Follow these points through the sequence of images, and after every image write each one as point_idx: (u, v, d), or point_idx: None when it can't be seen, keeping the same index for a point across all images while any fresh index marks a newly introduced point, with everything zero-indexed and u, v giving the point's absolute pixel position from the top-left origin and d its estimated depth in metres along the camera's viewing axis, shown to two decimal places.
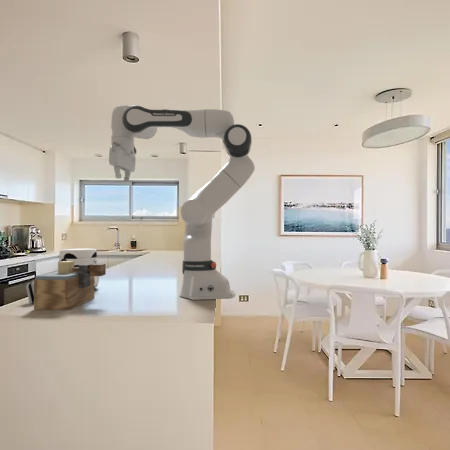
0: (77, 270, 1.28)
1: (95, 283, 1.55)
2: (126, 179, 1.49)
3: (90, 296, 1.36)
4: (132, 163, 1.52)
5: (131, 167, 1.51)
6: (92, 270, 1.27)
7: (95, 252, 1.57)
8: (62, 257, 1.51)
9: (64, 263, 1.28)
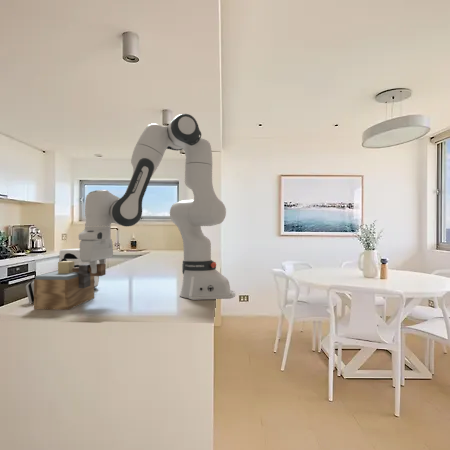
0: (77, 270, 1.28)
1: (95, 283, 1.55)
2: None
3: (90, 296, 1.36)
4: None
5: None
6: None
7: None
8: (62, 257, 1.51)
9: (64, 263, 1.28)
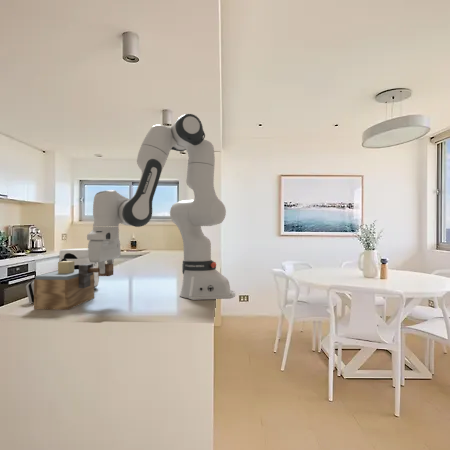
0: None
1: (95, 283, 1.55)
2: None
3: (90, 296, 1.36)
4: None
5: None
6: None
7: None
8: (62, 257, 1.51)
9: (64, 263, 1.28)
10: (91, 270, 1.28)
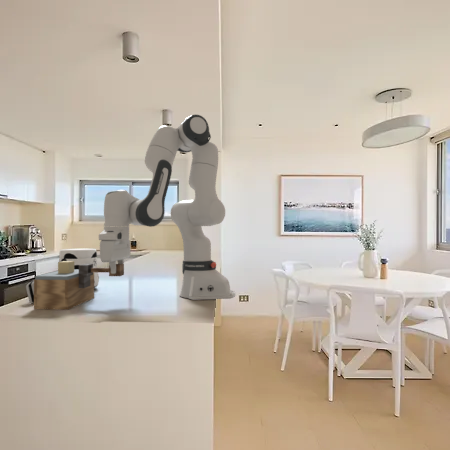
0: (96, 270, 1.28)
1: (95, 283, 1.55)
2: None
3: (90, 296, 1.36)
4: None
5: None
6: None
7: (95, 252, 1.57)
8: (62, 257, 1.51)
9: (64, 263, 1.28)
10: (102, 270, 1.27)
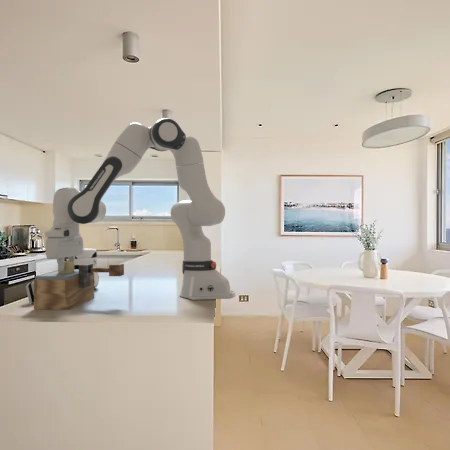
0: (96, 270, 1.28)
1: (95, 283, 1.55)
2: None
3: (90, 296, 1.36)
4: None
5: None
6: (111, 270, 1.26)
7: (95, 252, 1.57)
8: None
9: (64, 263, 1.28)
10: (102, 270, 1.27)
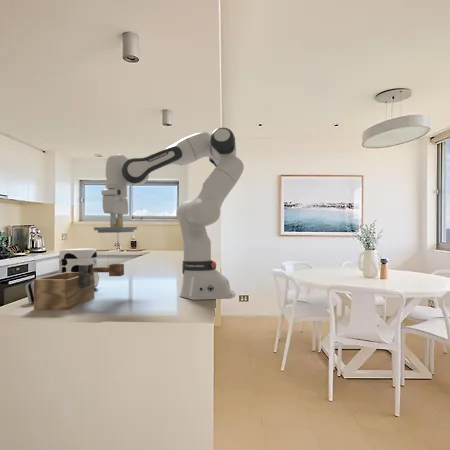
0: (96, 270, 1.28)
1: (95, 283, 1.55)
2: None
3: (90, 296, 1.36)
4: None
5: None
6: (111, 270, 1.26)
7: (95, 252, 1.57)
8: (62, 257, 1.51)
9: None
10: (102, 270, 1.27)
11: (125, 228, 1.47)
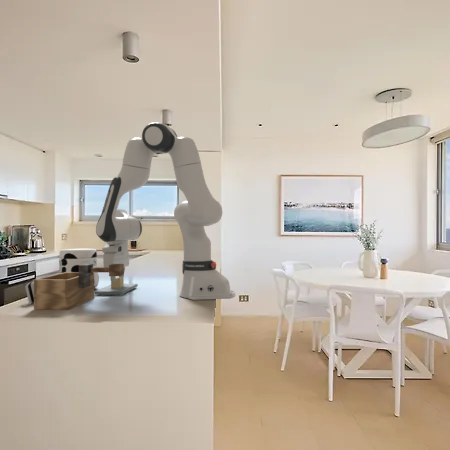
0: (96, 270, 1.28)
1: (95, 283, 1.55)
2: None
3: (90, 296, 1.36)
4: None
5: None
6: (111, 270, 1.26)
7: (95, 252, 1.57)
8: (62, 257, 1.51)
9: (116, 279, 1.51)
10: (102, 270, 1.27)
11: (126, 291, 1.47)
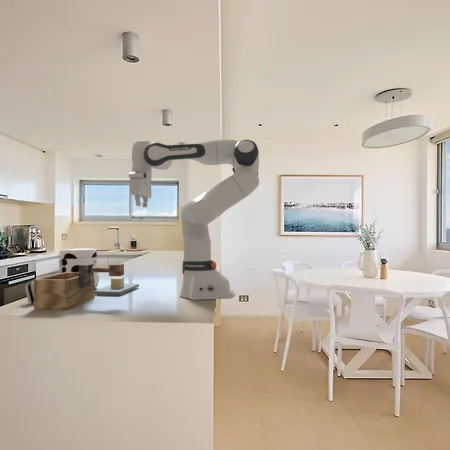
0: (96, 270, 1.28)
1: (95, 283, 1.55)
2: None
3: (90, 296, 1.36)
4: None
5: None
6: (111, 270, 1.26)
7: (95, 252, 1.57)
8: (62, 257, 1.51)
9: (116, 279, 1.51)
10: (102, 270, 1.27)
11: (124, 291, 1.47)
